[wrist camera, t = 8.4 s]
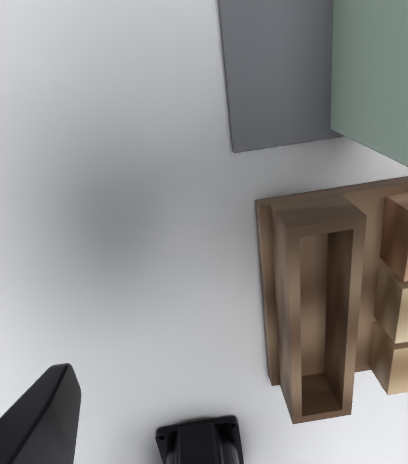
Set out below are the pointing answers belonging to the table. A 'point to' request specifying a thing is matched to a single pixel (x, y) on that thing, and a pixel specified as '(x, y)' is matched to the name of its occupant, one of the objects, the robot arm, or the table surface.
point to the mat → (277, 71)
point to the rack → (321, 291)
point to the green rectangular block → (371, 74)
